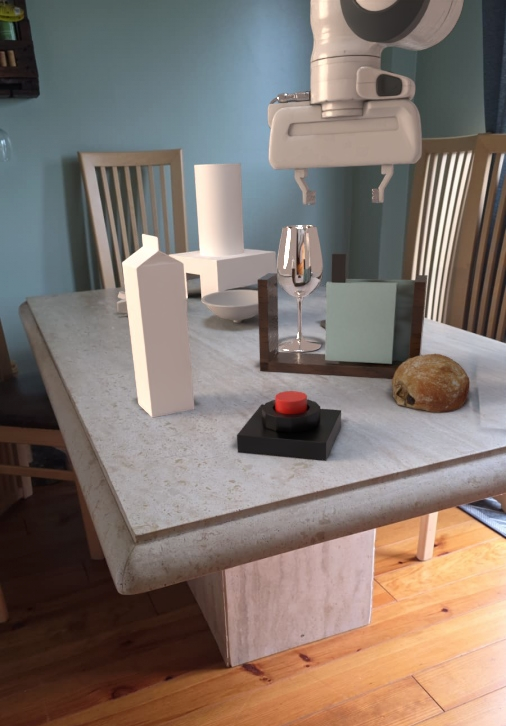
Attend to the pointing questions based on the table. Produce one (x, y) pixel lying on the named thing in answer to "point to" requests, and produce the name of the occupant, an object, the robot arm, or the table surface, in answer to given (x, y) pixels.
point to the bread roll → (430, 383)
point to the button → (291, 402)
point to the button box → (290, 432)
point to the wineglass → (299, 274)
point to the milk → (159, 329)
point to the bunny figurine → (122, 302)
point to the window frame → (404, 348)
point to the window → (359, 317)
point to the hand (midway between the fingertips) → (343, 203)
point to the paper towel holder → (222, 234)
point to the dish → (233, 304)
